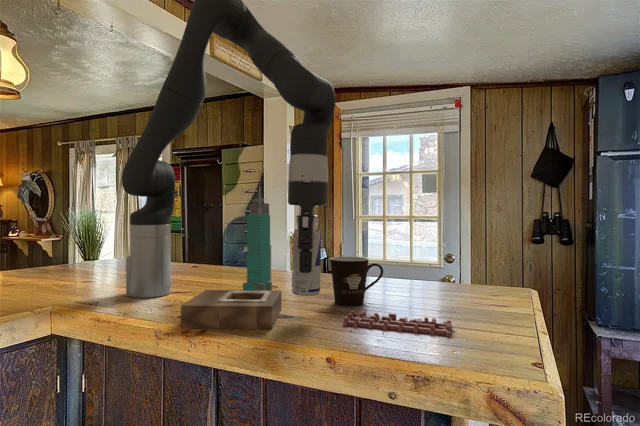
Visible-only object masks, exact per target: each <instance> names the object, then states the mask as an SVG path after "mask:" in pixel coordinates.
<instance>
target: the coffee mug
mask: <svg viewBox="0 0 640 426" xmlns="http://www.w3.org/2000/svg"><path fill="white" fill-rule="evenodd" d="M329 262H330V271H331V278H332V290H333V297H334V304H335V305H337V306H341V307H349V308H350V307H360V306H363V305H364V303H365V301H364V300H365V292H366V291H367V290H368V289H370V288H372V287H373V286H374V285H375V284H376V283H378V281H380V280H381V278H382V277H383V274H384V268H383V266H382V265H381V264H379V263H371V264H369V258H368V257H361V256H334V257H330V261H329ZM372 267H378V268H379V270H380V273H379V276H378V277H377V278H376V279H375V280H374V281H373V282H371V283H370V284H368V285H367V275H368V273H369V270H370V269H371V268H372ZM366 285H367V286H366Z"/></svg>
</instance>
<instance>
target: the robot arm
mask: <svg viewBox="0 0 640 426" xmlns="http://www.w3.org/2000/svg"><path fill="white" fill-rule="evenodd" d="M189 12H190V13H189V15H188V17H187V18H188V19H187V22H186V25H185V28H184V31H183V34H182V37H181V40H180V44H179V47H178V49H177V52H176V54H175V57H174V60H173V61H172V65H171V67H170V69H169V71H168V74H167V76H166V78H165V80H164V82H163V84H162V87H161V89H160V91H159V94H158V96H157V98H156V102H155V104H154V107H153V109H152V112H151V114H150V116H149V118H148V120H147V123H146V125H145V127H144V129H143V131H142V133H141V135H140V137H139V138H138V141H137V142H136V144H135V146H134V148H133V149H132V152H131V153H130V154H129V157H128V159H127V160H126V163H125V164H124V167H123V169H122V173H121V186H122V188H123V190H124V192H126V194H128V195H131V196H133V197H134V196H135V197H146V200H145V201H146V202H145V204H144V205H143V206H142V207H141V208H139V209H137V210H134V211H133V212H131V213H130V217H129V255H127V256H126V258H125V275H126V276H125V284H126V285H125V289H126V290H125V296H126V297H132V298H141V299H142V298H143V299H145V298H146V299H147V298H156V297H157V298H158V297H163V296H168V295H169V294H171V268H172V267H171V264H172V263H171V255H172V254H171V249H172V248H171V241H172V240H171V232H172V231H171V228H172V227H171V226H172V225H171V223H172V221H171V220H172V219H171V218H172V215H173V214H174V210H175V196H176V195H175V194H176V193H175V192H176V176H175V172H174V169H173V167H172V166H171V164H170V163H169V162H167V161H163V160H159V159H160V158H161V155H162V154H163V152H164V150H165V149H166V148H167V147H168V145H170V144H171V143H172V142H173V141H174V140H175V139H176V138H178V137H179V136H181V135H182V134H183V133H184V132H185V131H186V130H187V129H189V128H190V126H192V125H193V123H194V122H195V120H197V117H198V115H199V112H200V110H201V108H202V107H203V103H204V101H205V99H206V95H207V78H206V67H205V57H206V51H207V47H208V44H209V42H210V39H211V36H212V34H215V35H217V36H218V37H220V38H222V39H225V40H227V41H229V42H231V43H233V44H235V45H237V46H238V47H240V48H241V49H242V50H244V51H245V52H246V53H247V54H248V56H249V58H250V60H251V62H252V64H253V65H254V66H255V68H256V69H258V71H259V72H260V73H261V74H262V75H263V76H264V77H265V78H266V79H268V81H270V82H271V83H272V84H273V85H274V87H275V89H276V91H277V92H278V94H280V97H281V98H282V99H283V100H284V101H285V102H286V103H287V104H289V105H290V106H291V107H293V108H294V109H297V110H299V111H302V112H304V113H303V114H304V115H303V120H302V122H301V123H298V124H295V125H294V126H293V127H292V129H291V130H290V131H291V132H290V147H289V149H290V151H289V154H290V155H289V164H288V174H287V175H288V180H287V181H288V186H287V188H288V189H287V203H288V205H290V206H299V207H300V215H298V214H297V215H296V218H295V219H296V220H295V222H296V226H297V227H296V229H297V239H298V250H299V252H300V265H299V271H300V272H301V273H310V272H311V270H312V251H313V240H315V239H316V230H318V229H317V226H318V225H319V215H315V208H316V206H319V207H320V206H322V207H324V206H325V207H326V206H327V205H328V201H329V200H328V198H329V196H328V195H329V164H328V136H329V135H328V134H329V131H330V128H331V125H332V121H333V117H334V113H335V108H336V93H335V89H334V86H333V84H332V83H331V82H330V81H329V80H327V79H326V78H324V77H321V76H319V75H318V74H316V73H314V72H312V71H311V70H309V69H308V68H307V67H304V65H302V62H301V60H300V58H298V56H297V55H296V54H295V53H294V52H293V51H292V50H290V49H289V48H288V47H287V46H286V45H285V44H284V43H282V42H281V41H280V40H279V39H278V38H276V37H275V36H274V35H272V34H270V33H269V32H268V31H267V30H266V29H265V28H264V27H263V26H262V25H261V24H260V23H259V21H258V20H257V18H256V17H255V16H254V14H253V13H252V12H251V10H250V9H249V7H248V6H247V5H246V4H245V2H244V1H243V0H194V1H193V3H192V6H191V9H190V11H189ZM312 231H313V233H312ZM303 239H309V243H306V242H302V240H303Z"/></svg>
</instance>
